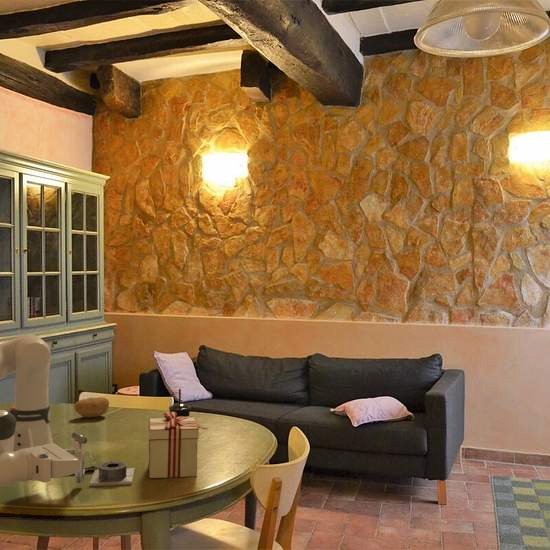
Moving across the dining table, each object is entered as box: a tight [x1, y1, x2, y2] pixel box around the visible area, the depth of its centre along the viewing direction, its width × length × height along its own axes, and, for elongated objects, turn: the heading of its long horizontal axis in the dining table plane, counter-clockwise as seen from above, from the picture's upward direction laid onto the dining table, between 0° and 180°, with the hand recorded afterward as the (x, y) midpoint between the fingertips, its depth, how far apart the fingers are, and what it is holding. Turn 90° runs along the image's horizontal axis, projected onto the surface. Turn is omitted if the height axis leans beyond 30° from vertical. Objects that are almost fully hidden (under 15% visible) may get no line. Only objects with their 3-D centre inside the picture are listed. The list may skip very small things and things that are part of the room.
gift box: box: [147, 411, 209, 479], centre depth 205 cm, size 17×18×17 cm
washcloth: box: [84, 449, 99, 472], centre depth 209 cm, size 13×18×3 cm
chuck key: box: [71, 431, 88, 484], centre depth 189 cm, size 7×3×14 cm, turn 39°
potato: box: [73, 396, 110, 419], centre depth 271 cm, size 10×14×8 cm
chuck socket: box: [89, 460, 136, 487], centre depth 197 cm, size 12×12×4 cm
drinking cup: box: [168, 388, 192, 417], centre depth 231 cm, size 8×8×20 cm
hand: (82, 453), depth 190 cm, fingers closed on chuck key, 3 cm apart
